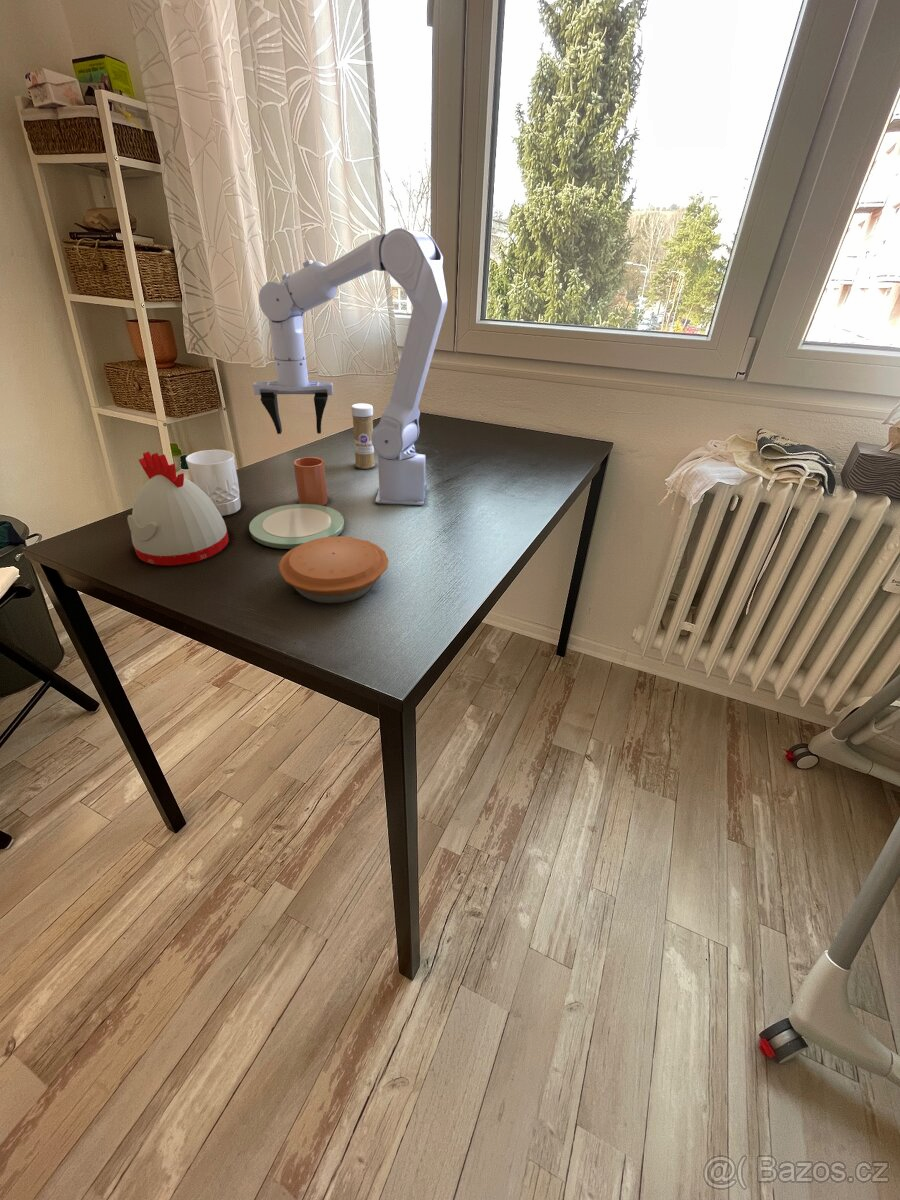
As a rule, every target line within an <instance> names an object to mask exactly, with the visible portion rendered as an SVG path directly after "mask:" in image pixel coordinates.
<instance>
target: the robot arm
mask: <svg viewBox="0 0 900 1200" xmlns="http://www.w3.org/2000/svg"><path fill="white" fill-rule="evenodd" d="M443 264H444V256H443V254H442V252H441V250H440V248H439V246H438V245H437V242H436V241H435V239H434V238H433V236H432V235H430V234H429V233H428V232H426V231H423V230H416V231H414V230H408V229H406V228H403V227H402V228H401V227H397V228H393V229H392V230H390V231H388V232H387V233H382V234H379V235H376V236H374V237H372V238H371V239H370V238H369V240H367V241H365V242H364V243H362V244H361V245H359V246H357V247H356V248H354V249H352V250H350V251H349V252H347V253H345V254H344V255H342V256H341V257H339V258H337V259H336V260H334V261H332V262H331V263H329V264H327V265H326V264H325V263H323V262H321V261H318V260H316V261H314V260H312V259H311V260H310V259H309V260H308V259H307V260H305V261H304V262H302V266H303V267H302V268H301V269H299V270H297V271H294V272H293V273H291V274H290V273H285V274H283V275H282V274H281V281H280V282H278V281H277V282H276V281H266V283H265V284H264V285H263V286H262V287H261V288H260V290H259V293H258V303H259V307H260V309H261V311H262V313H263V314H264V316H265V317H266V318H267V319H268V326H269V333H270V339H271V340H270V341H271V347H272V353H273V360H274V361H273V362H274V367H275V374H276V380H273V381H272V380H271V381H255V382H253V383H252V388H253V392H254V393H253V394H254V396H260V402H261V404H262V405H263V407H264V408H265V410H266V411H267V413H268V414H269V417H270V418H271V420H272V422H273V425H274V428H275V431H276V434H277V435H281V434H282V432H283V427H282V421H281V417H280V413H279V412H280V411H279V404H278V403H279V401H278V395H314V396H313V403H314V410H315V418H316V419H315V420H316V434H317V435H319V434H322V419H323V415H324V411H325V408H326V405H327V402H328V397H329V396H334V385H333V382H326V381H325V382H324V381H323V382H322V381H314V380H313V381H310V380H309V373H308V364H307V356H306V355H307V353H306V347H305V346H306V345H305V336H304V330H303V329H304V328H303V327H304V320H303V318H304V316H305V314H306V313H307V312H308V311H310V310H313V309H315V308H317V307H318V306H320V305H323V304H324V303H326V302H329V301H330V300H331V301H332V300H333V299H334V298H335V297H336V294H337V290H338V287H340V286H341V285H343V284H346V283H348V282H350V281H353V280H355V279H357V278H359V277H362V276H364V275H366V274H369V273H371V272H373V271H375V270H376V271H379V272H387V273H388V274H389V275H390V276H391V278H393V280H394V281H395V282H396V283H397V284H398V285H399V286H401V287H402V289H403V291H404V292H405V294H406V295H407V298H408V299H409V301H410V303H411V305H412V310H411V314H410V319H409V323H408V327H407V331H406V335H405V338H404V343H403V347H402V351H401V354H400V360H399V361H398V366H397V371H396V374H395V379H394V382H393V386H392V391H391V395H390V399H389V401H388V402H387V403H388V404H386V407H385V408H384V410H383V412H382V413H381V417H380V420H379V422H378V424H377V425H376V426H375V427H373V432H372V435H371V441H372V445H373V447H374V451H375V452H376V453H377V466H378V467H377V468H378V491H377V494H376V497H375V503H376V504H388V505H414V506H423V505H424V503H425V496H426V492H427V486H428V483H427V482H426V472H427V471H426V463H427V462H426V461H427V459H426V458H427V457H426V454H422V453H417V452H416V448H415V443H416V441H417V440H418V439H419V436H420V425H419V424H420V423H419V422H420V421H419V420H420V415H421V410H420V408H419V404H420V401H421V397H422V394H423V390H424V387H425V383H426V380H427V376H428V373H429V370H430V367H431V363H432V360H433V356H434V353H435V349H436V346H437V342H438V338H439V336H440V331H441V329H442V326H443V322H444V319H445V315H446V311H447V309H448V308H447V307H448V301H449V299H448V294H447V287H446V282H445V281H446V280H445V276H444V275H445V274H444V270H443Z"/></svg>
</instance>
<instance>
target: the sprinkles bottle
mask: <svg viewBox="0 0 900 1200" xmlns="http://www.w3.org/2000/svg"><path fill="white" fill-rule="evenodd" d="M350 407H351V409H350V410H351V417H352V426H353V428H352V429H353V432H352V433H353V445H354V459H355V464H354V466H355V467H356V468H358V469H363V470H368V469H372V468H374V467H375V466H376V463H375V449H374V447H373V445H372V441H371V435H372V432H373V430H374V425H373V424H374V423H373V417H374V408H373V405H372V404H369V403H364V402H363V403H362V402H361V403H354V404H352V405H351V406H350Z"/></svg>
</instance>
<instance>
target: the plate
mask: <svg viewBox="0 0 900 1200" xmlns="http://www.w3.org/2000/svg"><path fill="white" fill-rule="evenodd" d="M344 529H345V519H344V516H343V515H342V514H341V513H340V512H339V511H338V510H336V509H334V508H332V507H329V506H325V505H323V506H321V505H315V504H300V503H295V504H286V505H280V506H277V507H273V508H270V509H267V510H265V511H263V512H261V513H259V514H258V515H256V516H254V517H253V519H252V520H251V521H250V522H249V526H248V530H249V534H250V537H251V538H252V539H253V540H254V541H255V542H256V543H258V544H260V545H263V546H265V547H270V548H275V549H282V550H283V549H284V550H292V549H294V548H295V547H297V546H299V545H301V544H304V543H306V542H309V541H312V540H315V539H319V538H324V537H335V536H339V535H340V534H341V533H342V532H343V531H344Z"/></svg>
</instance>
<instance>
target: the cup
mask: <svg viewBox="0 0 900 1200" xmlns="http://www.w3.org/2000/svg"><path fill="white" fill-rule="evenodd" d="M293 469H294V476H295V483H296V490H297V497H298V502H299V503H298V504H315V505H321V506H325V505H326V504H327V503H328V501H329V500H328V487H327V480H326V479H327V478H326V469H325V462H324V459H322V458H320V457H315V456H306V457H299V458H297V459H295V460H294V461H293Z"/></svg>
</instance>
